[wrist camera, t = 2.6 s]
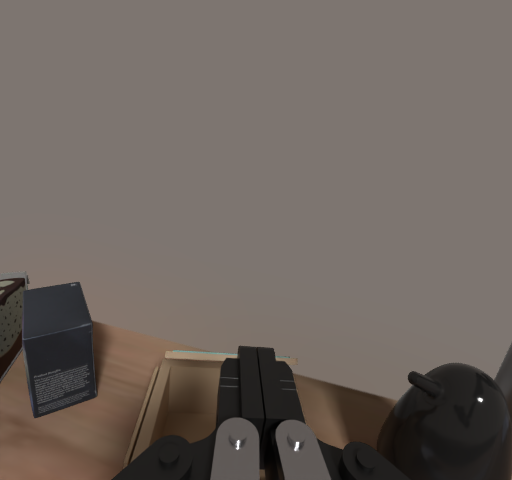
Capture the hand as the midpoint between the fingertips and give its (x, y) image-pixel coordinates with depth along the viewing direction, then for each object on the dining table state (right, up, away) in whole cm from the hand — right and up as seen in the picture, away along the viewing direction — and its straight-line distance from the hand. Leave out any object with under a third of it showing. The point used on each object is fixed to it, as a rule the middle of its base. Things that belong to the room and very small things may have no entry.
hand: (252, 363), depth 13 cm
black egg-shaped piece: (+16, -20, +17) cm, 31 cm away
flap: (-3, -8, +21) cm, 23 cm away
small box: (-24, -12, +24) cm, 36 cm away
